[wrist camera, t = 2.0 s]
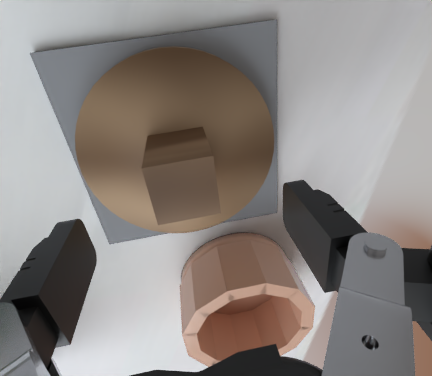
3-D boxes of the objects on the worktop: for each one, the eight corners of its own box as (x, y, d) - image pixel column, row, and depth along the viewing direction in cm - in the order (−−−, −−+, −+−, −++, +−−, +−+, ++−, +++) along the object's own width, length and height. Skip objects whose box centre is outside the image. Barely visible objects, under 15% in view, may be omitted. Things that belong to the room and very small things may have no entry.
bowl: (171, 245, 20) (172, 302, 16) (287, 223, 21) (318, 272, 17) (190, 319, 25) (195, 379, 21) (286, 298, 26) (309, 352, 21)
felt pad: (33, 52, 13) (29, 53, 13) (273, 19, 14) (276, 19, 14) (110, 240, 19) (109, 244, 19) (275, 209, 20) (276, 212, 20)
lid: (44, 63, 13) (-14, 80, 9) (266, 31, 14) (310, 33, 10) (115, 237, 19) (100, 298, 15) (270, 207, 20) (299, 257, 15)
